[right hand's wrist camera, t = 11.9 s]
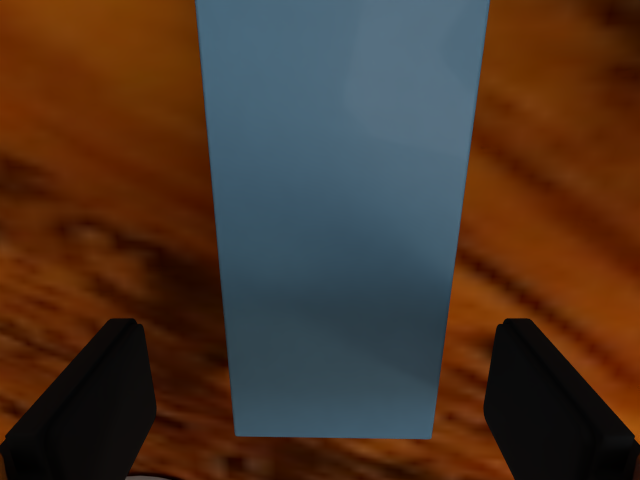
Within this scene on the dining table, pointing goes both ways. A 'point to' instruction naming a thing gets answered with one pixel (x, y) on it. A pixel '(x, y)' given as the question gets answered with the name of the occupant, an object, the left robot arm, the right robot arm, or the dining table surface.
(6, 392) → the dining table surface
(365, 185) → the blue slab
